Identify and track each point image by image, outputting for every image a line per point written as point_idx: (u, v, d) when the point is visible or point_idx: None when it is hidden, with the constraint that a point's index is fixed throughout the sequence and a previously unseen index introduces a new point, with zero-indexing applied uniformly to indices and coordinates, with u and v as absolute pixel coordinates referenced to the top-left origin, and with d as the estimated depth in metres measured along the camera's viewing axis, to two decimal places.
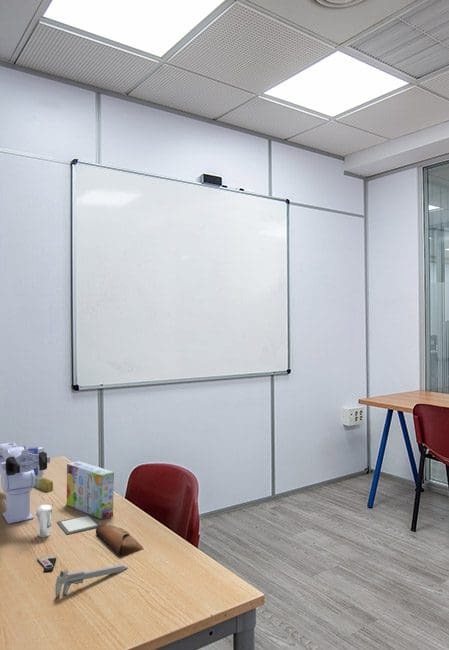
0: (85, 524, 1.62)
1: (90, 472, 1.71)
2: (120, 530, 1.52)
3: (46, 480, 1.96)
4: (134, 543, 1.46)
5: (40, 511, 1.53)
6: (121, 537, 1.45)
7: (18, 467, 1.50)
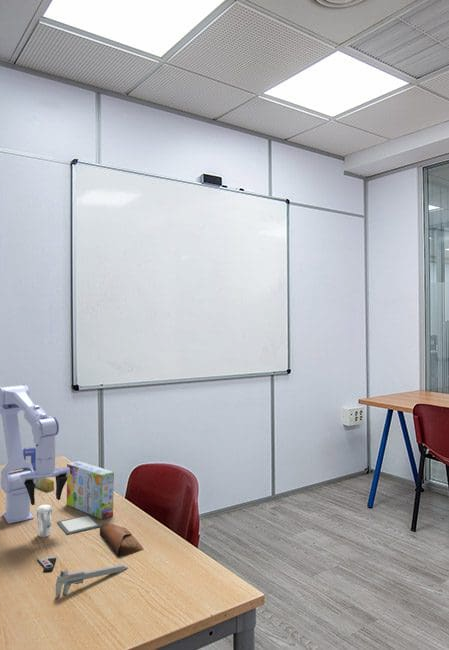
0: (85, 524, 1.62)
1: (90, 472, 1.71)
2: (122, 530, 1.52)
3: (47, 480, 1.96)
4: (134, 544, 1.46)
5: (40, 511, 1.53)
6: (121, 537, 1.45)
7: None
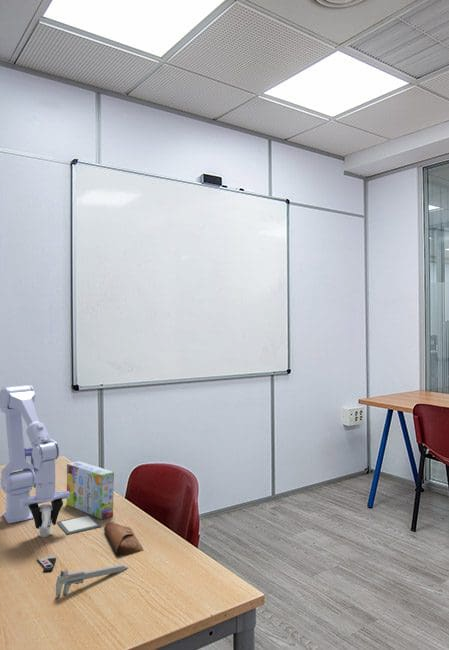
0: (85, 524, 1.62)
1: (90, 472, 1.71)
2: (125, 530, 1.52)
3: None
4: (134, 544, 1.45)
5: (41, 510, 1.53)
6: (121, 537, 1.45)
7: None
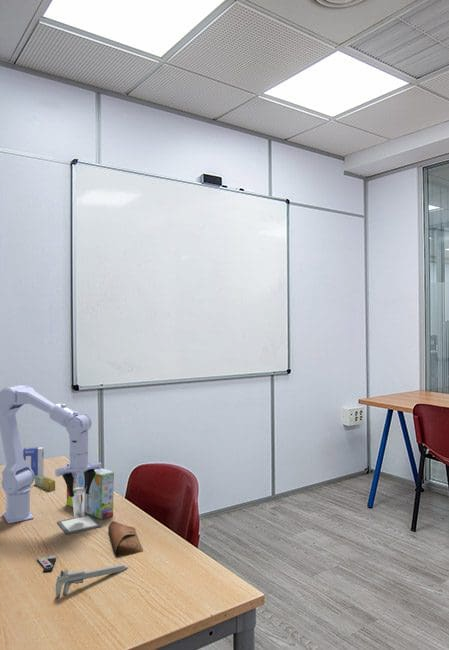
0: (85, 524, 1.62)
1: None
2: (127, 529, 1.52)
3: (49, 479, 1.97)
4: (134, 545, 1.45)
5: (74, 493, 1.61)
6: (121, 537, 1.45)
7: None
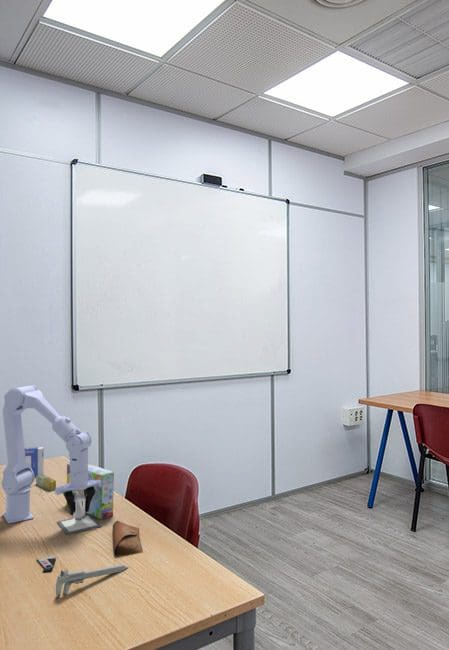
0: (85, 524, 1.62)
1: (90, 472, 1.71)
2: (129, 529, 1.52)
3: (49, 479, 1.97)
4: (134, 545, 1.45)
5: (75, 500, 1.61)
6: (122, 537, 1.45)
7: None
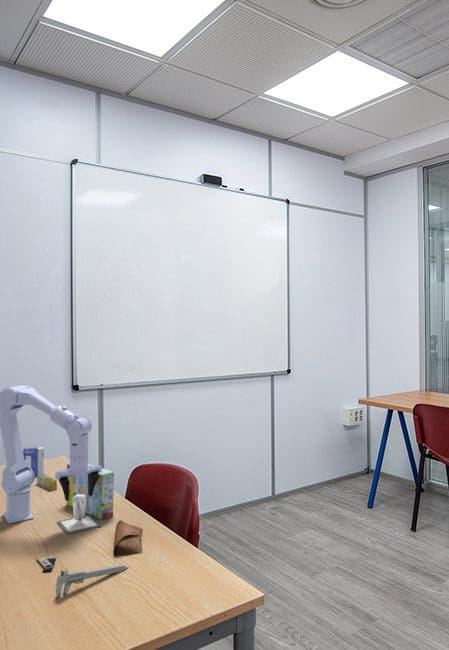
0: (85, 524, 1.62)
1: None
2: (131, 530, 1.52)
3: (50, 479, 1.97)
4: (134, 545, 1.45)
5: (75, 500, 1.61)
6: (122, 537, 1.45)
7: None
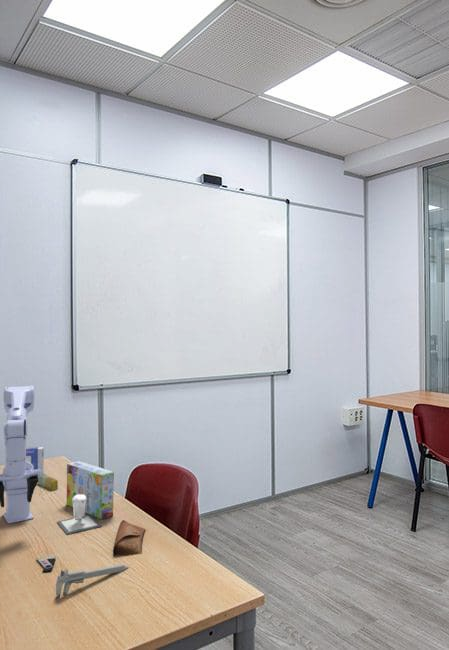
0: (85, 524, 1.62)
1: (90, 472, 1.71)
2: (132, 530, 1.52)
3: (51, 479, 1.98)
4: (134, 546, 1.44)
5: (75, 500, 1.61)
6: (122, 537, 1.45)
7: None
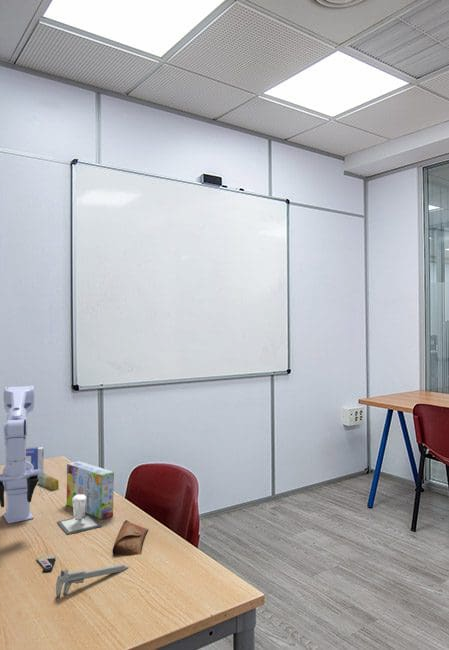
0: (85, 524, 1.62)
1: (90, 472, 1.71)
2: (134, 530, 1.52)
3: (52, 479, 1.98)
4: (133, 546, 1.44)
5: (75, 500, 1.61)
6: (122, 536, 1.45)
7: None
